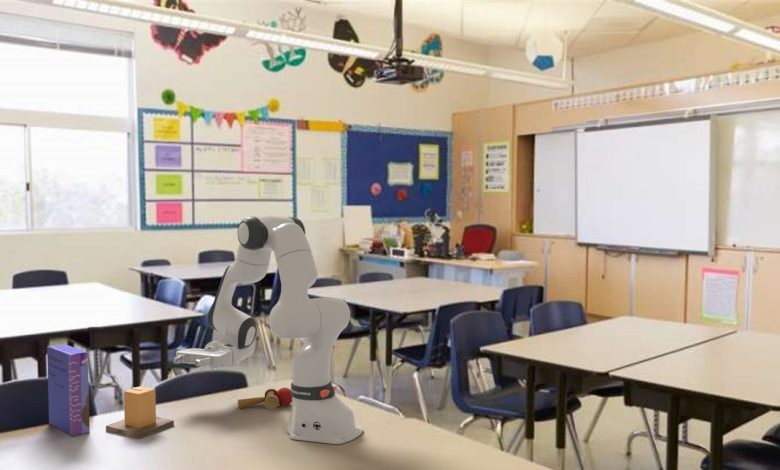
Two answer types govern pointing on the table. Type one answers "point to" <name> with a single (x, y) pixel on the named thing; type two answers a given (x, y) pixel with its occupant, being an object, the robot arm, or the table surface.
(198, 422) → the table surface
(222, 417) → the table surface
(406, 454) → the table surface
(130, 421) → the orange block
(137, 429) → the shaft base
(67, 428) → the cereal box
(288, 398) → the kendama
